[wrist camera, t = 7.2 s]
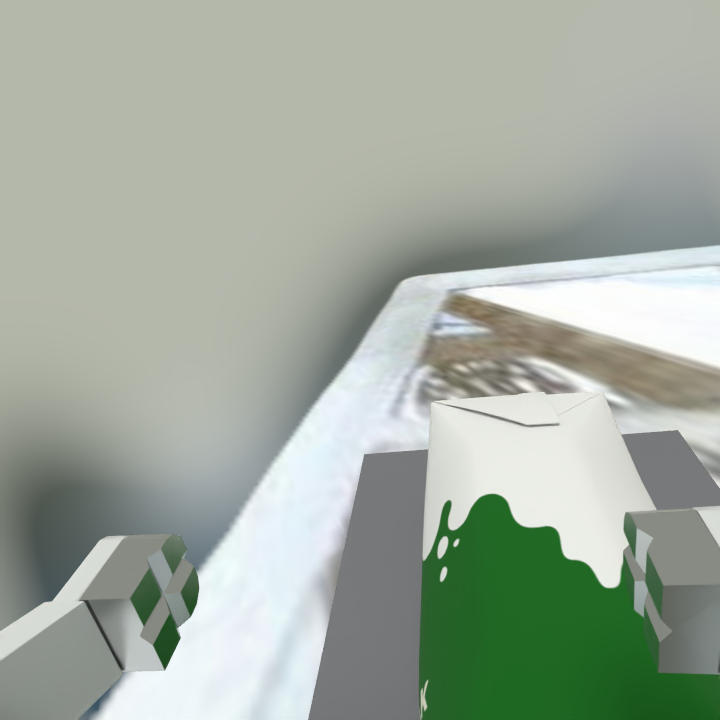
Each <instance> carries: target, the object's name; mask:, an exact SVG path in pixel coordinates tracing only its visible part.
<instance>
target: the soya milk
mask: <svg viewBox="0 0 720 720" xmlns="http://www.w3.org/2000/svg"><path fill="white" fill-rule="evenodd" d="M651 510H657V509H656V508H655V506H654V504H653V502H652V500H651V498H650V496H649V494H648V492H647V490H646V488H645V486H644V484H643V482H642V480H641V478H640V476H639V474H638V472H637V470H636V467H635V465H634V463H633V461H632V458H631V456H630V454H629V451H628V449H627V447H626V444H625V442H624V440H623V438H622V435H621V433H620V431H619V428H618V426H617V424H616V421H615V419H614V417H613V414H612V412H611V410H610V408H609V405H608V403H607V400H606V398H605V395H604V393H603V392H602V391H599V392H583V393H568V394H552V395H546V394H545V393H544V392H534V393H522V394H519V395H508V396H494V397H481V398H468V399H455V400H442V401H434V402H433V403H432V404H431V413H430V430H429V447H428V461H427V475H426V490H425V507H424V528H423V556H422V585H421V614H420V644H419V713H420V720H720V674H687V673H658V671H657V668H656V666H655V663H654V661H653V658H652V655H651V653H650V650H649V648H648V645H647V643H646V640H645V637H644V635H643V624H644V617H643V616H641V615H640V614H639V613H638V612H636V611H635V610H634V608H633V605H632V603H631V600H630V597H629V594H628V590H627V586H626V582H625V576H624V569H623V550H624V549H625V548H626V547H627V546H628V545H629V543H628V541H627V538H626V536H625V533H624V531H623V527H624V516H625V513H626V512H633V511H651Z"/></svg>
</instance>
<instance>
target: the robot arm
mask: <svg viewBox="0 0 720 720" xmlns="http://www.w3.org/2000/svg"><path fill="white" fill-rule="evenodd" d="M623 531H624V533H625V536H626V538H627V541H628V543H629V545H628V546H627V547H626V548H625V549H624V550H623V569H624V576H625V582H626V586H627V590H628V594H629V597H630V600H631V603H632V605H633V608H634V610H635V611H636V612H638V613H639V614H640V615H641V616H643V617H644V624H643V635H644V637H645V640H646V643H647V645H648V648H649V650H650V653H651V655H652V658H653V661H654V663H655V666H656V668H657V671H658V673H687V674H720V506H709V507H694V508H691V509H689V508H686V509H668V510H651V511H633V512H626V513H625V516H624V527H623ZM186 550H187V548H186V546H185V544H184V542H183V540H182V538H181V536H178V535H175V534H163V535H130V536H107V537H106V538H104V539H102V540H100V541H99V542H98V543H97V545H96V546H95V547H94V549H93V550H92V551H91V552H90V554H89V555H88V556H87V558H86V559H85V560H84V561H83V563H82V564H81V565H80V567H79V568H78V569H77V571H76V572H75V573H74V574H73V576H72V577H71V578H70V579H69V581H68V582H67V583H66V585H65V586H64V587H63V589H62V590H61V591H60V592H59V594H58V595H57V596H56V597H55V599H54V600H53V601H52V602H44V603H43V604H41V605H40V606H39V607H37V608H35V609H34V610H32V611H31V612H29V613H28V614H26V615H25V616H23V617H22V618H20V619H19V620H17V621H15V622H14V623H12V624H11V625H9V626H8V627H6V628H5V629H4V630H2V631H0V720H77V719H78V718H79V717H80V716H81V715H82V714H83V713H84V712H85V711H86V710H87V709H88V708H89V707H90V706H91V705H92V704H94V703H95V702H96V701H97V700H98V698H100V697H101V696H102V695H103V694H104V693H105V692H106V691H107V690H108V689H109V688H110V687H111V686H112V685H113V684H114V683H115V682H116V681H117V680H118V679H119V678H120V677H121V676H122V675H123V673H122V672H130V671H165V669H166V667H167V665H168V663H169V661H170V659H171V657H172V655H173V653H174V651H175V649H176V647H177V645H178V642H179V640H180V638H181V637H180V633H179V629H178V627H180V626H181V625H182V624H183V623H184V622H185V621H187V620H188V619H189V618H190V617H191V615H192V613H193V611H194V609H195V606H196V604H197V599H198V592H199V582H198V576H197V573H196V570H195V568H194V566H193V565H191V564H190V563H189V562H188V561H186V560H185V559H184V558H183V557H184V555H185V553H186Z"/></svg>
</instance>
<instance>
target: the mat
mask: <svg viewBox="0 0 720 720" xmlns="http://www.w3.org/2000/svg"><path fill="white" fill-rule="evenodd" d="M622 438H623V440H624V442H625V444H626V447H627V449H628V451H629V454H630V456H631V458H632V461H633V463H634V465H635V467H636V470H637V472H638V474H639V476H640V478H641V480H642V482H643V484H644V486H645V488H646V490H647V492H648V494H649V496H650V498H651V500H652V502H653V504H654V506H655V508H656V509H657V510H668V509H686V508H689V509H691V508H694V507H709V506H720V489H719V487H718V486H717V484H716V483H715V482H714V480H713V479H712V477H711V476H710V475H709V473H708V472H707V470H706V469H705V468H704V466H703V465H702V463H701V462H700V461H699V459H698V458H697V456H696V455H695V454H694V452H693V451H692V449H691V448H690V447H689V445H688V444H687V442H686V441H685V440H684V438H683V437H682V435H681V434H680V433H679V431H678V430H675V431H662V432H649V433H636V434H623V435H622ZM427 461H428V450H415V451H402V452H389V453H376V454H364V459H363V463H362V468H361V473H360V478H359V482H358V487H357V492H356V496H355V501H354V506H353V511H352V515H351V520H350V525H349V530H348V534H347V539H346V544H345V549H344V553H343V558H342V563H341V567H340V572H339V577H338V582H337V586H336V591H335V596H334V601H333V605H332V610H331V615H330V620H329V624H328V629H327V634H326V638H325V643H324V648H323V653H322V657H321V662H320V667H319V672H318V676H317V681H316V686H315V690H314V695H313V700H312V705H311V709H310V714H309V719H308V720H420V713H419V644H420V614H421V585H422V556H423V528H424V507H425V490H426V475H427Z"/></svg>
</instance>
